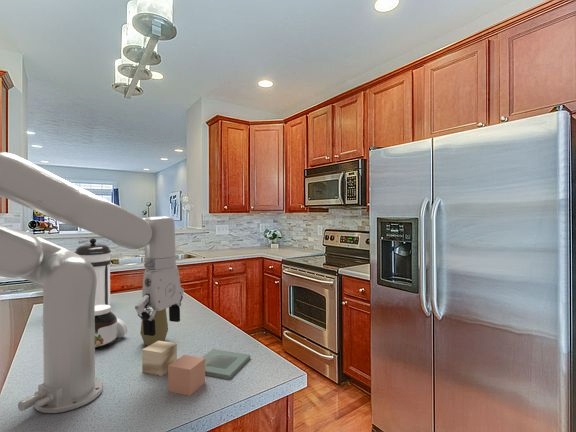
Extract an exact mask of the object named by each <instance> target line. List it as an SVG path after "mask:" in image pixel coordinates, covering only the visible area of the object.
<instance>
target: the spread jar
mask: <svg viewBox="0 0 576 432" xmlns="http://www.w3.org/2000/svg"><path fill="white" fill-rule="evenodd" d="M127 333H128V327H127V324H126V323H125V322H124V321H123V320H122V319H120V318H118V317H117V316H116V314H115V313H113V312H112V306H111V305H95V351H96V350H102V349H104V348H107V347H109V346H111V345H112V344H113V343H114V342H115V340H116V338H120V339H121V338H124V336H125V335H127Z"/></svg>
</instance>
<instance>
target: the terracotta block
mask: <svg viewBox="0 0 576 432" xmlns="http://www.w3.org/2000/svg"><path fill="white" fill-rule="evenodd" d="M205 383H206V375H205V358H202V357H200V356H194V355H189V354H182V355H181V356H180V357H178V358H177V360H176V361H174V362H173V363H171V364H170V365H168V372H167V391H168V392H171V393H175V394H180V395H183V396H185V395H186V396H189V397H190V396H192V395H193V394H194V393H195V392H196V391H197V390H199V388H201V387H202V386H203V385H205Z"/></svg>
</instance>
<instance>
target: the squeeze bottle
mask: <svg viewBox="0 0 576 432" xmlns="http://www.w3.org/2000/svg"><path fill="white" fill-rule="evenodd" d="M150 312H151V311H149V312H148V314H149V315H150ZM167 316H168V315H167V308H165V309H163V310H161V311H156V313H155V315H154V317H153V319H154V320H155V335H154V336H149V335H144V333H143V320H141V323H140V325H141V326H140V332H139V333H140V336H141V339H142V341H143V344H144V345H145V346H146V347H148V346H150V345H151V344H153V343H155V342H157V341H164V342H166V338H167V335H168V332H169V323H168V317H167Z"/></svg>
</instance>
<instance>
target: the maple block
mask: <svg viewBox="0 0 576 432" xmlns="http://www.w3.org/2000/svg"><path fill="white" fill-rule="evenodd" d="M141 355H142V356H141V358H142V359H141V361H142V363H141V364H142V365H141V366H142V369H141V372H142V373H143V372H144V374H148V373H149V375H153V374H154V375H153V376H158V375H159V377H163V376H165V374H168V365H170V364H171V363H173V362H174V361H176V360H177V359H178V343H177V342H176V343H175V342H170V341H157V342H155V343H153V344H151V345H150V346H146V347H144V348H143V349H141ZM162 375H163V376H162Z"/></svg>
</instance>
